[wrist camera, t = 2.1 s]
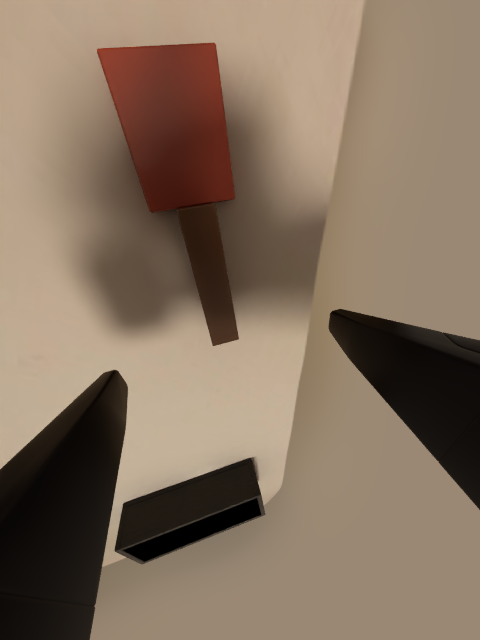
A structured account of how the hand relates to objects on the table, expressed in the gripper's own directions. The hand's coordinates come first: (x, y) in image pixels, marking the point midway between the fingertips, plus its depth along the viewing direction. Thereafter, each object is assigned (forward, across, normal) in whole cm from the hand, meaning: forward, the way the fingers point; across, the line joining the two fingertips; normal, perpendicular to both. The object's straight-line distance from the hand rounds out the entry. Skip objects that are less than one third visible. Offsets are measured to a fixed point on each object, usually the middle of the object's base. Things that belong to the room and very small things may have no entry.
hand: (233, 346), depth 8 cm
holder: (+8, +9, +32) cm, 34 cm away
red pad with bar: (+8, 0, -4) cm, 9 cm away
